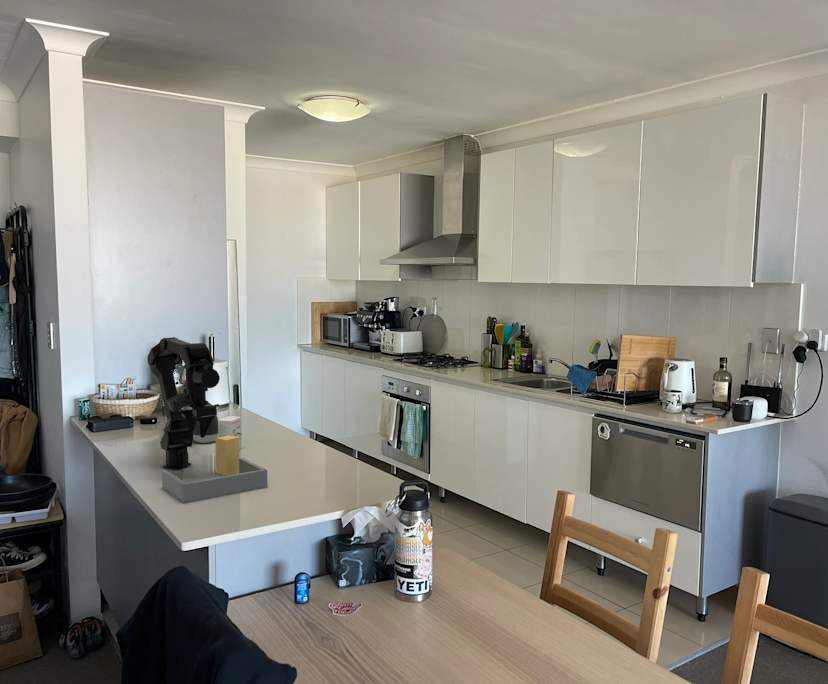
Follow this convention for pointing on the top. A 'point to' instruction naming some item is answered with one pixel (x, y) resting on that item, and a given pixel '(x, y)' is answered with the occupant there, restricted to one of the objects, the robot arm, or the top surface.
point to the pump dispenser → (210, 433)
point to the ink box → (230, 427)
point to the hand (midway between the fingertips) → (196, 434)
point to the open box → (216, 483)
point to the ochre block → (227, 455)
